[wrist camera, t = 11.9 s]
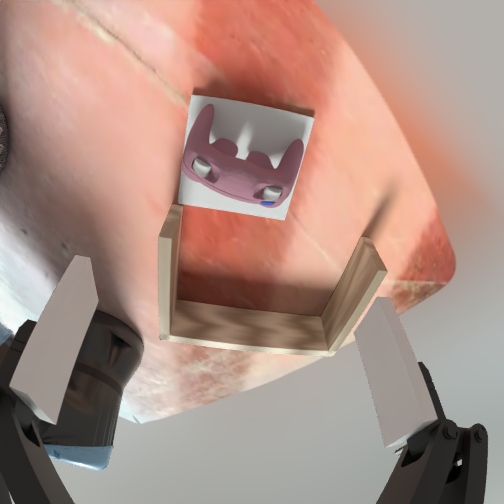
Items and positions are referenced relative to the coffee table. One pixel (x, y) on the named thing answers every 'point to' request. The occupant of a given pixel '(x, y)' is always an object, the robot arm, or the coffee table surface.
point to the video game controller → (238, 166)
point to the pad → (245, 147)
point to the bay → (263, 322)
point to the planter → (3, 140)
